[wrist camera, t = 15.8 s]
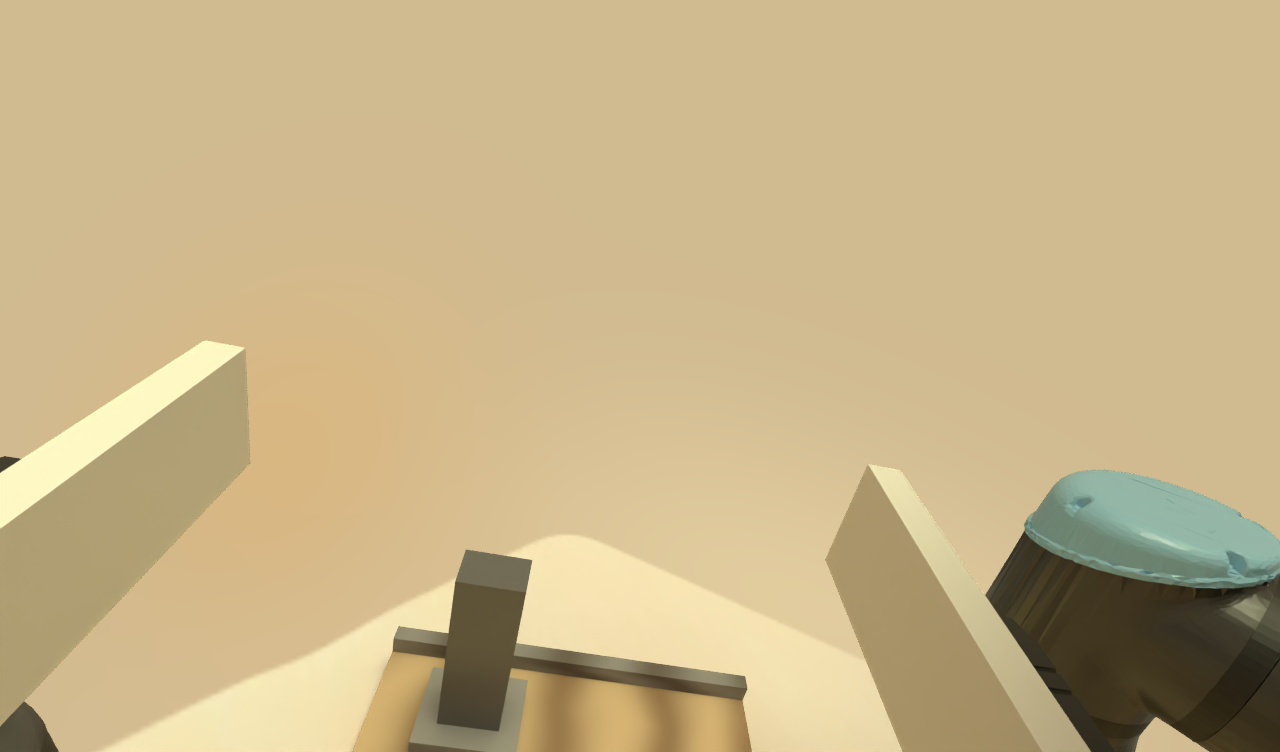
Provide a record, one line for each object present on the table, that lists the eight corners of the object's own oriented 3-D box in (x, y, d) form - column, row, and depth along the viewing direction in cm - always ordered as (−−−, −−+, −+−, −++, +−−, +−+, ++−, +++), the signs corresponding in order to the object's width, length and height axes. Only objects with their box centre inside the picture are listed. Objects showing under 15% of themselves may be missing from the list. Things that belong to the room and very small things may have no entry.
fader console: (730, 708, 47) (745, 671, 45) (757, 879, 37) (778, 839, 36) (396, 662, 44) (399, 620, 43) (330, 833, 35) (331, 787, 33)
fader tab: (525, 690, 42) (556, 547, 37) (513, 766, 37) (546, 615, 32) (431, 677, 41) (449, 530, 36) (407, 753, 36) (424, 597, 31)
